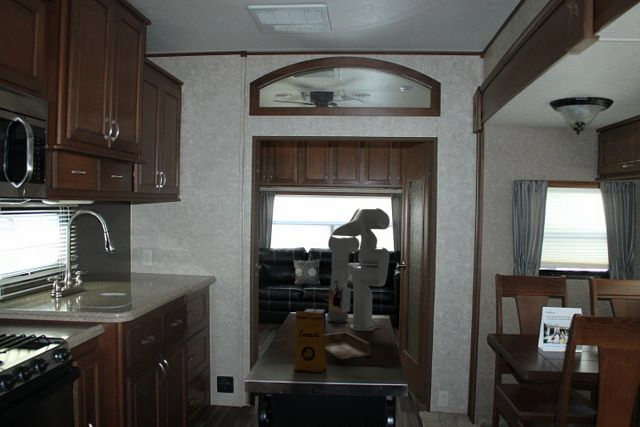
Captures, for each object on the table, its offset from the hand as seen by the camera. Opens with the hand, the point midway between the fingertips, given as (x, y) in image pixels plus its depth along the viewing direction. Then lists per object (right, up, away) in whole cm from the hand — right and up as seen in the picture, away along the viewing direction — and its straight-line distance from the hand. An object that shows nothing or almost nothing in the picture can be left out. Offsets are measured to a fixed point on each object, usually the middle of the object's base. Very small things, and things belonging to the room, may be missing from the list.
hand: (339, 304), depth 213 cm
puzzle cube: (-12, -18, +24) cm, 32 cm away
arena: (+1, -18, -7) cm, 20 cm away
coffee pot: (-4, -18, +47) cm, 50 cm away
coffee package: (-12, -19, -32) cm, 39 cm away
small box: (0, -3, 0) cm, 3 cm away
